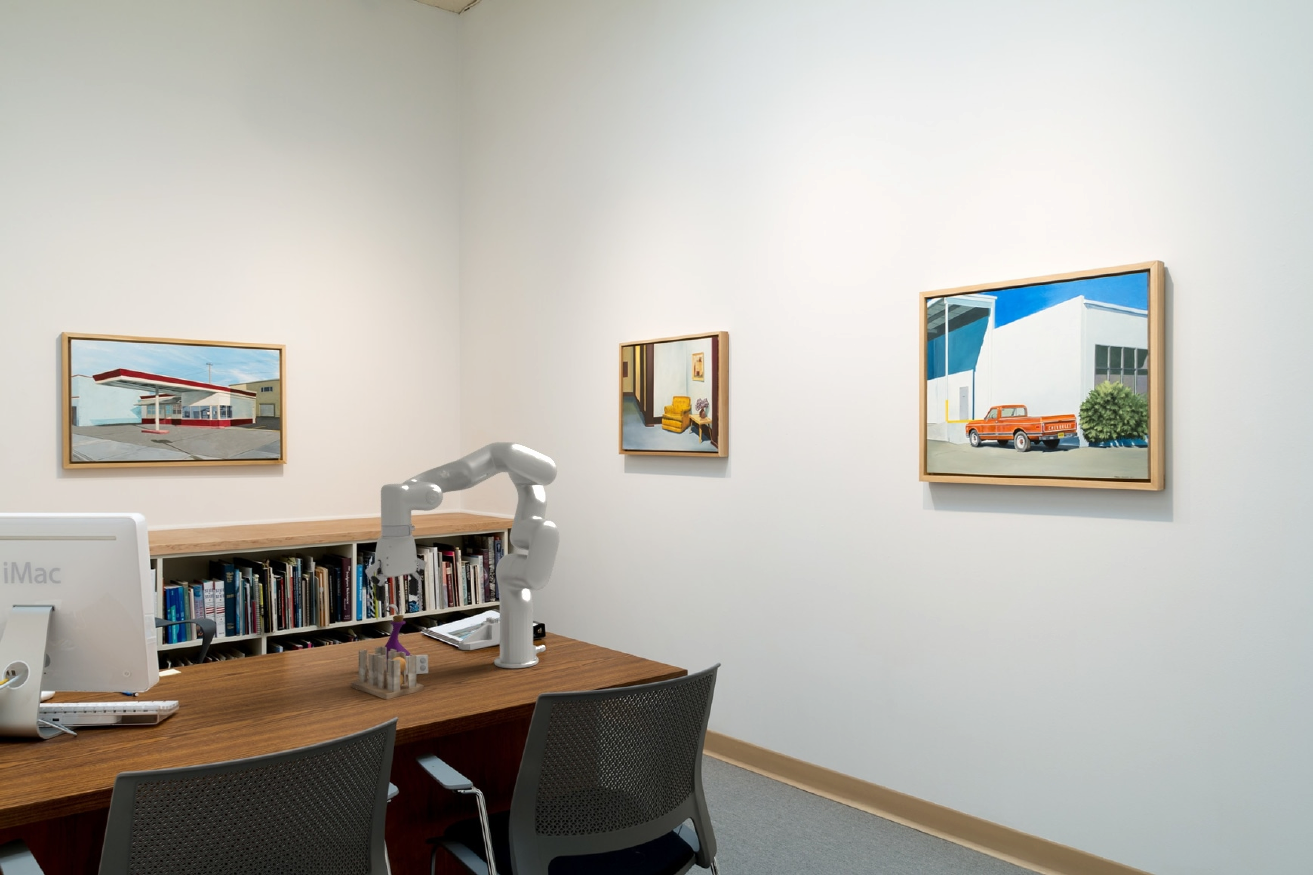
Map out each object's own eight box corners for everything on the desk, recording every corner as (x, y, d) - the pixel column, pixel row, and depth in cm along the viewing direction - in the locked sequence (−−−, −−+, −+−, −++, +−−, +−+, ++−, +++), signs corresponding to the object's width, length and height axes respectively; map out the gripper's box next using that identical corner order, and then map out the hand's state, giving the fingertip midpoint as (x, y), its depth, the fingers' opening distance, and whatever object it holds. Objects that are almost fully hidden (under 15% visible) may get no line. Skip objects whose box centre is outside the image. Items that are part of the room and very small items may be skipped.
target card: (398, 674, 249) (398, 656, 249) (428, 672, 251) (428, 654, 251) (398, 675, 249) (398, 657, 249) (428, 673, 251) (428, 655, 251)
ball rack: (387, 678, 246) (387, 644, 246) (424, 689, 235) (423, 654, 235) (350, 686, 238) (350, 651, 237) (386, 699, 226) (386, 662, 226)
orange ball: (394, 678, 233) (400, 672, 237) (405, 668, 232) (411, 663, 236) (384, 665, 233) (390, 660, 237) (395, 656, 232) (401, 651, 236)
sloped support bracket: (455, 648, 280) (455, 622, 280) (503, 638, 293) (502, 614, 293) (466, 651, 276) (466, 625, 276) (513, 641, 289) (513, 616, 289)
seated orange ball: (398, 679, 236) (395, 666, 234) (407, 685, 233) (405, 672, 232) (385, 687, 233) (382, 674, 231) (394, 693, 230) (391, 680, 229)
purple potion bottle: (410, 664, 260) (410, 602, 260) (400, 671, 253) (400, 607, 252) (385, 664, 261) (385, 601, 261) (375, 671, 253) (374, 606, 253)
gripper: (416, 527, 242) (417, 591, 242) (358, 533, 229) (359, 601, 229) (433, 529, 237) (434, 594, 237) (374, 536, 224) (375, 604, 224)
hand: (397, 597), depth 233 cm, fingers open, 9 cm apart
